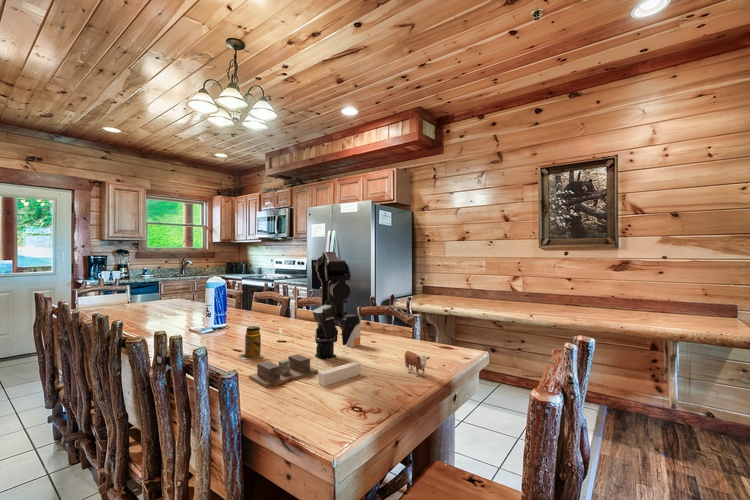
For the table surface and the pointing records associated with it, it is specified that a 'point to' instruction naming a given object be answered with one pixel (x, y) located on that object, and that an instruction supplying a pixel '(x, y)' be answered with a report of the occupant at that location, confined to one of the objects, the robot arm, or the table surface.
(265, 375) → the display stand
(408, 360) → the bull figurine
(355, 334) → the skincare box
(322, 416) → the table surface
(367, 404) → the table surface
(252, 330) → the condiment
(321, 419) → the table surface
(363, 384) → the table surface
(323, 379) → the frame bar
